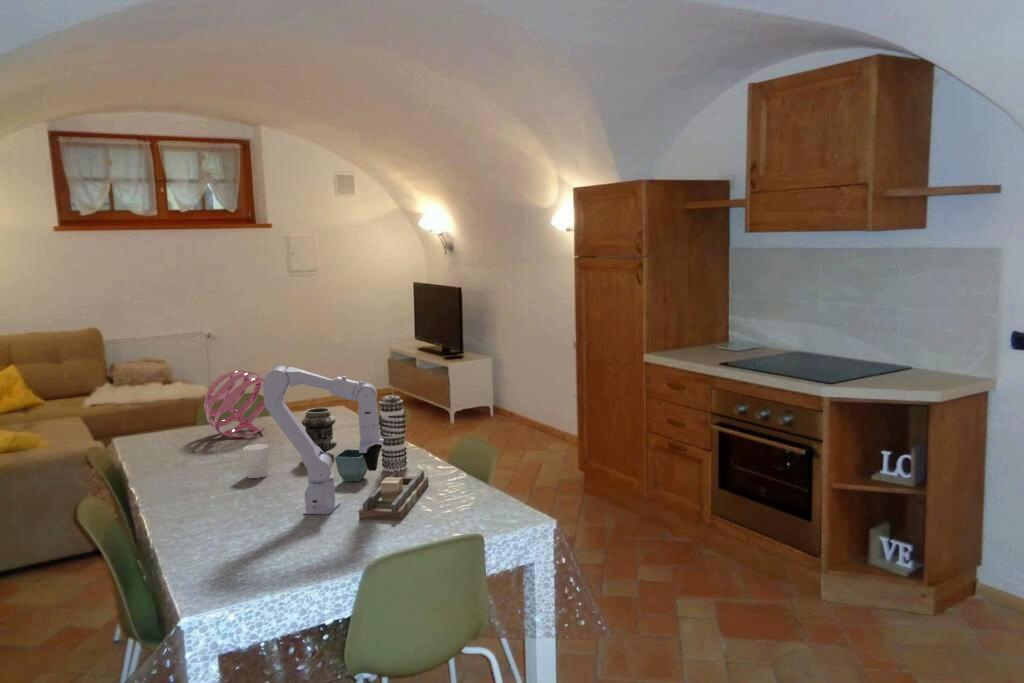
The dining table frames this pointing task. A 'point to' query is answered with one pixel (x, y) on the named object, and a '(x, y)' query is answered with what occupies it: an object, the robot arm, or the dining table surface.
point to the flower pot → (351, 465)
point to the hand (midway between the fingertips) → (372, 470)
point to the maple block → (391, 487)
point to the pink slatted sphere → (233, 403)
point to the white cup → (256, 460)
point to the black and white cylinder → (392, 433)
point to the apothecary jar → (320, 428)
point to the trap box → (394, 507)
